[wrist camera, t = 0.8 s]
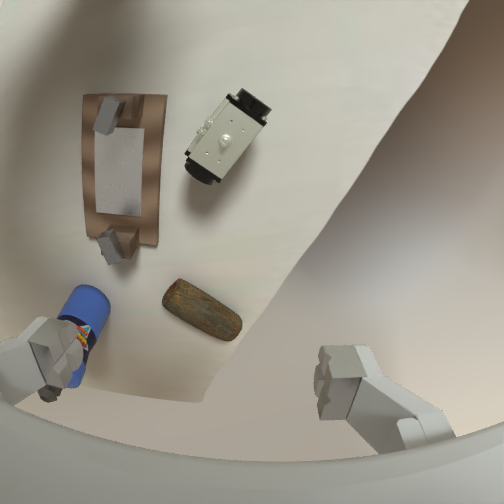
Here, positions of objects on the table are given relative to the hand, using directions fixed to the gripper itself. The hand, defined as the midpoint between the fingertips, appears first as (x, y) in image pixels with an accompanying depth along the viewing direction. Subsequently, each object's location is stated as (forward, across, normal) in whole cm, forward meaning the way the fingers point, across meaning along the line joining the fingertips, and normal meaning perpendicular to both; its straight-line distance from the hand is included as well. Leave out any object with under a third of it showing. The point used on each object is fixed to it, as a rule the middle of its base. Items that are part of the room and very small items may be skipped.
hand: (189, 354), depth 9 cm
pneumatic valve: (+38, +3, -9) cm, 39 cm away
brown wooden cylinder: (+44, +7, +23) cm, 50 cm away
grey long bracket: (+37, +19, -2) cm, 41 cm away
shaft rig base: (+38, +19, -2) cm, 43 cm away
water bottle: (+43, +31, +25) cm, 59 cm away
